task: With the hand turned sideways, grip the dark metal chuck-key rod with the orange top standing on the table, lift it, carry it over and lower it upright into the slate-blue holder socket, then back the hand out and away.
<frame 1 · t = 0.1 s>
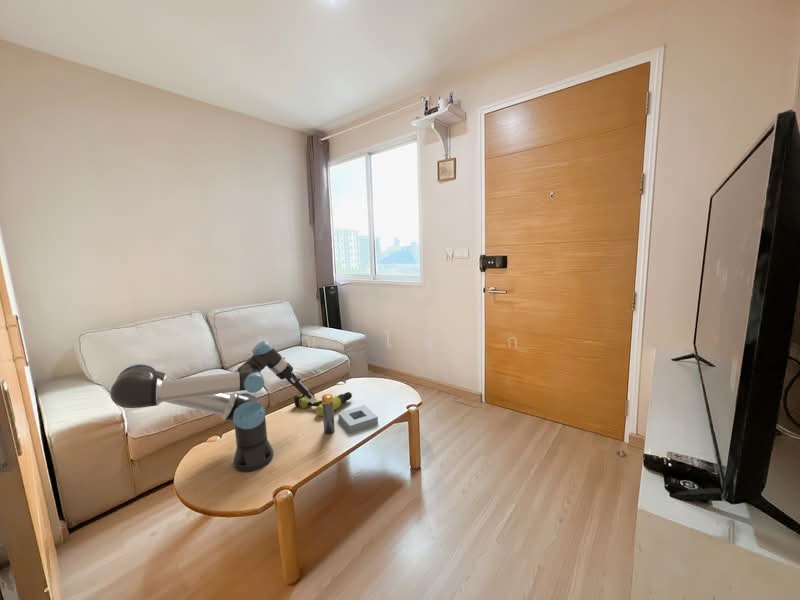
hand: (310, 396, 161), 15 cm above the table, tool tilted 35°, fingers open, 13 cm apart
cordless drill: (325, 404, 186), on the table
chuck key rod: (329, 431, 157), on the table
slate holder: (358, 421, 166), on the table
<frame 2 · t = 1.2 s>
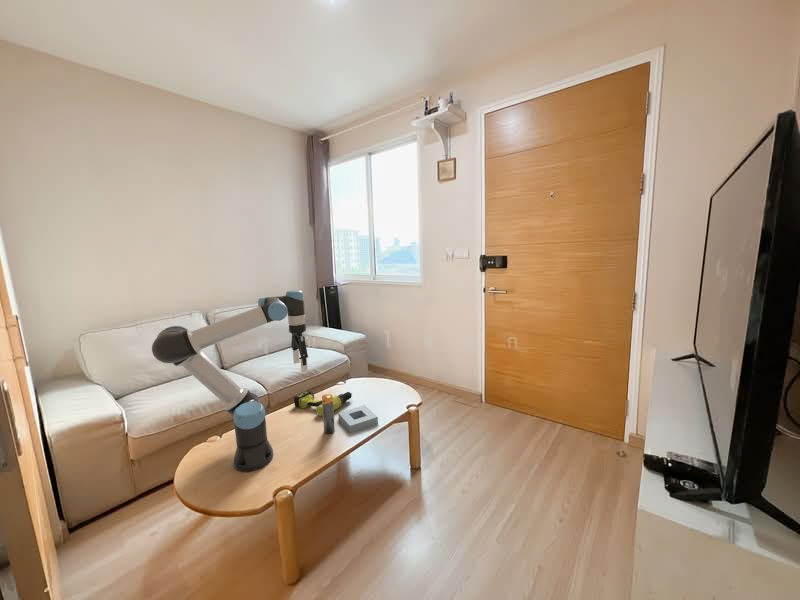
hand: (300, 367, 155), 32 cm above the table, tool pointing down, fingers open, 13 cm apart
nothing on the table moved.
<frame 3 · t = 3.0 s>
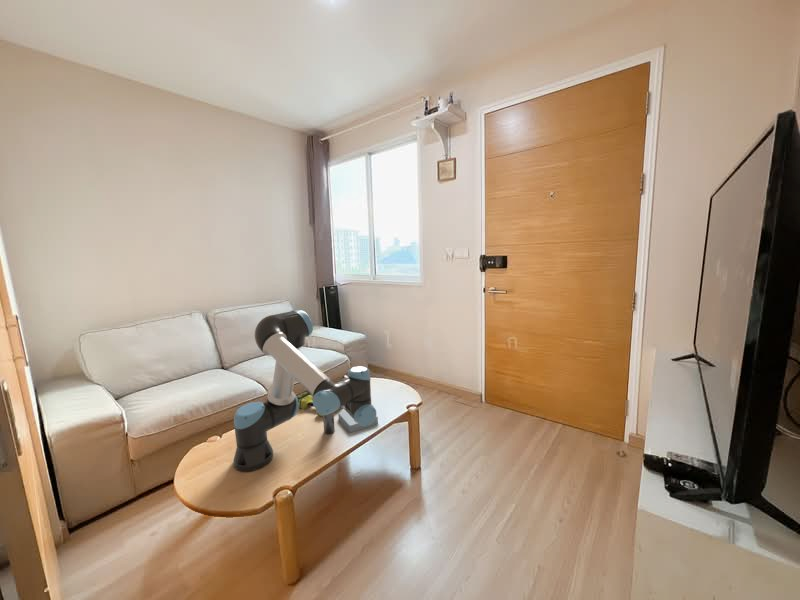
hand: (330, 381, 142), 30 cm above the table, tool horizontal, fingers open, 13 cm apart
nothing on the table moved.
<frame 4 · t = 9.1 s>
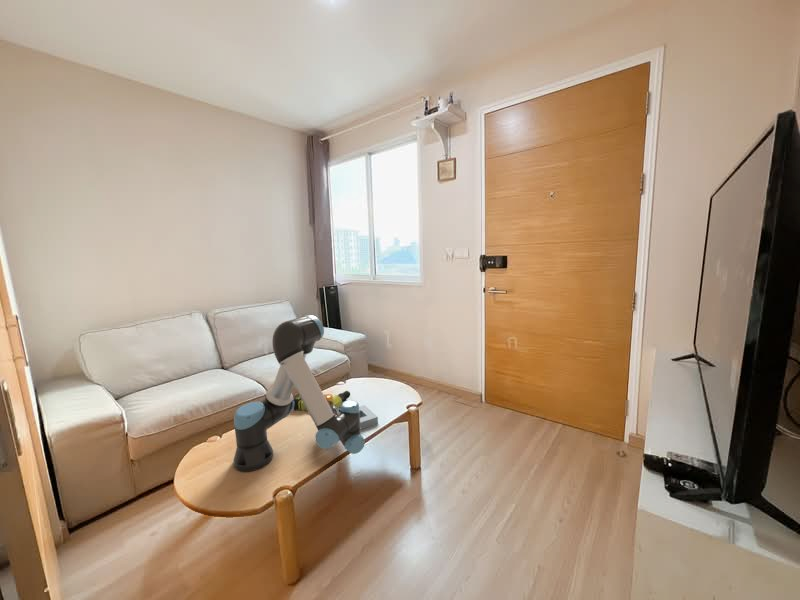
hand: (324, 406, 160), 11 cm above the table, tool horizontal, fingers closed on chuck key rod, 5 cm apart
chuck key rod: (329, 431, 157), on the table, touching gripper
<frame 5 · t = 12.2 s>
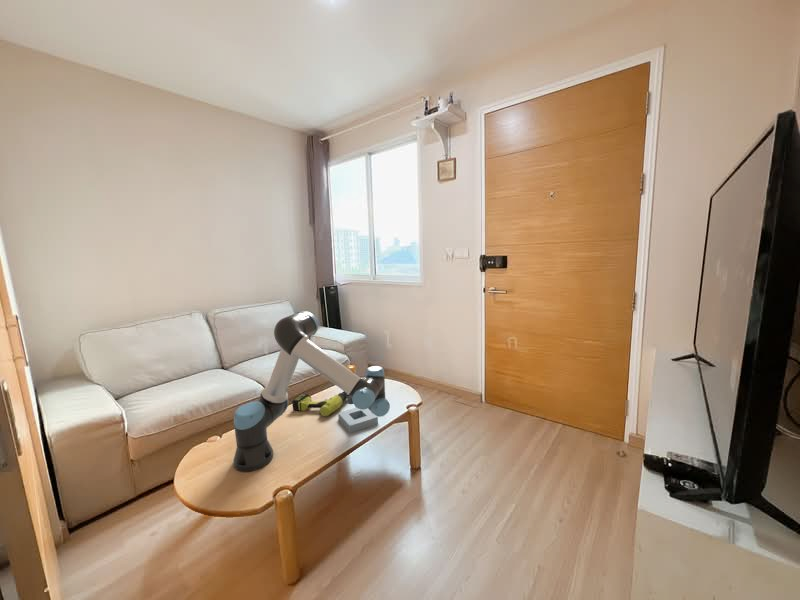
hand: (347, 378, 164), 23 cm above the table, tool horizontal, fingers closed on chuck key rod, 5 cm apart
chuck key rod: (352, 401, 161), point 12 cm above the table, touching gripper
when the fingers open (12 cm above the table, at t = 15.2 s): chuck key rod drops 1 cm, resting in slate holder.
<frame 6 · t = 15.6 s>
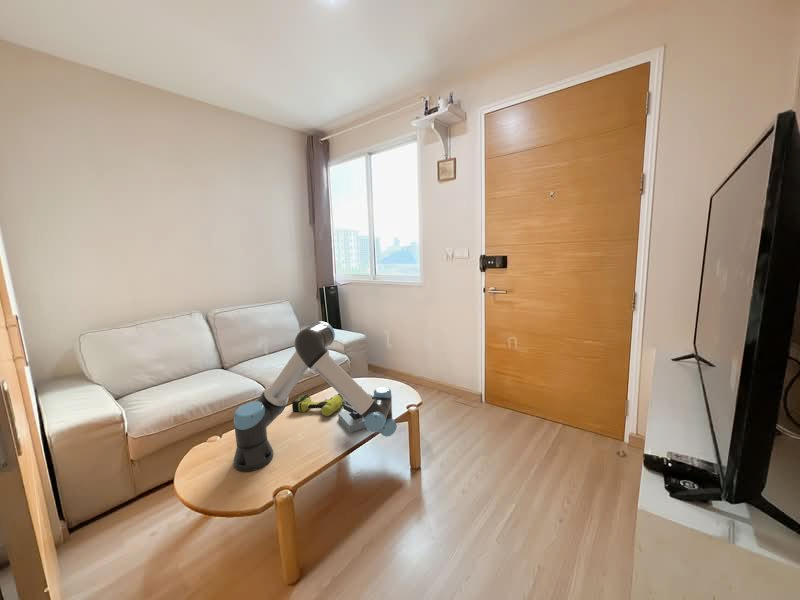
hand: (353, 395, 168), 12 cm above the table, tool horizontal, fingers open, 10 cm apart
chuck key rod: (358, 421, 166), resting in slate holder
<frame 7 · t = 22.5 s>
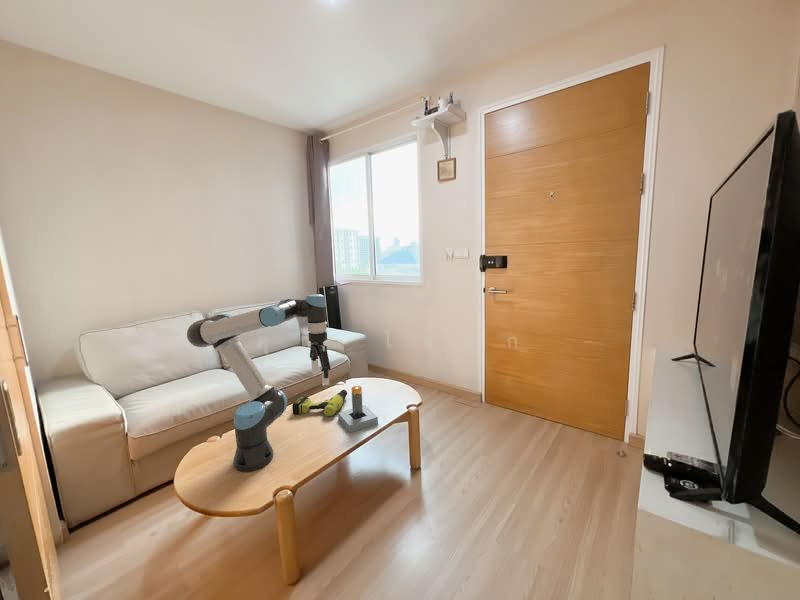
hand: (320, 379, 140), 32 cm above the table, tool pointing down, fingers open, 13 cm apart
at the end: chuck key rod 0.1 cm off-centre on the slate holder, point 0.0 cm above the slate holder's base; chuck key rod tilted 0°; the gripper is holding nothing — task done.
